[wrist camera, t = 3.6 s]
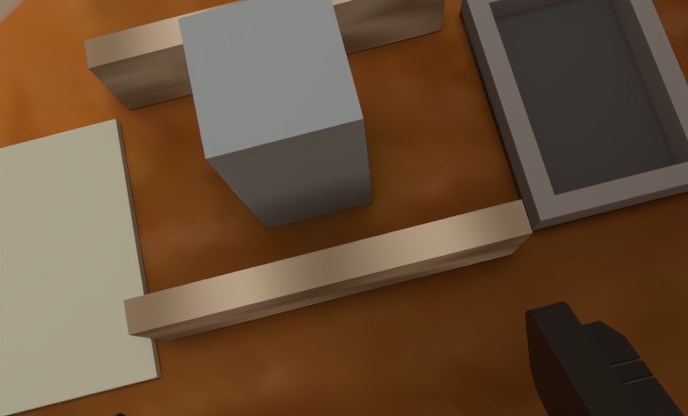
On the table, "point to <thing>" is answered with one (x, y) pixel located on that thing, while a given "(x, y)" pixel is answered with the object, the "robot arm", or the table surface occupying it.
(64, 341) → the pad
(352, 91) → the grey tall block
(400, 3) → the tunnel rails
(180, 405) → the table surface
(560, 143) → the tray
